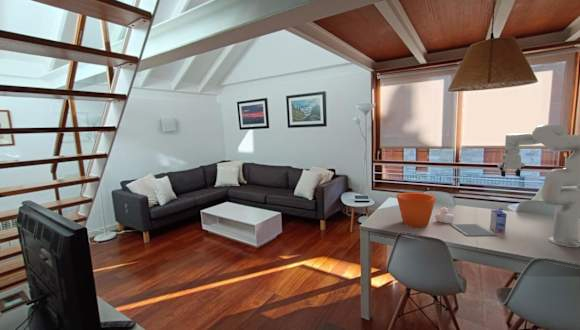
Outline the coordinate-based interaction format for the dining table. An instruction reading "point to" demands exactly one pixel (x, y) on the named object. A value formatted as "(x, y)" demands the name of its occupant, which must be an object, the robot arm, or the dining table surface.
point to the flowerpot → (416, 208)
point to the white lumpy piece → (444, 216)
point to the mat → (472, 230)
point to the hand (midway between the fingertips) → (510, 176)
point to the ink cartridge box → (498, 220)
